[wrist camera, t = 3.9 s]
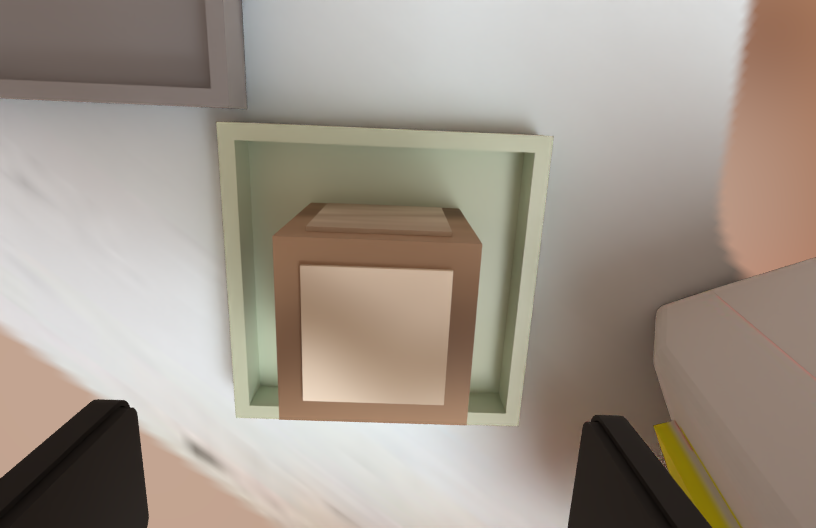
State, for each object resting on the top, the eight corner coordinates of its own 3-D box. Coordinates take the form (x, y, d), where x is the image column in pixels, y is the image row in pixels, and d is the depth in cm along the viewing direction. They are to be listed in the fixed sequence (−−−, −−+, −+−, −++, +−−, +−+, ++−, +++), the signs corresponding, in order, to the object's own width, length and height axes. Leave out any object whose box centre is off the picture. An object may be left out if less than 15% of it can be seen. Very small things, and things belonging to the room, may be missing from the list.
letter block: (310, 198, 19) (270, 231, 14) (459, 204, 20) (483, 239, 14) (313, 338, 21) (278, 422, 15) (449, 343, 21) (467, 428, 15)
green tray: (235, 121, 19) (216, 122, 17) (538, 135, 19) (553, 136, 17) (250, 392, 22) (235, 417, 20) (508, 400, 23) (518, 426, 21)
